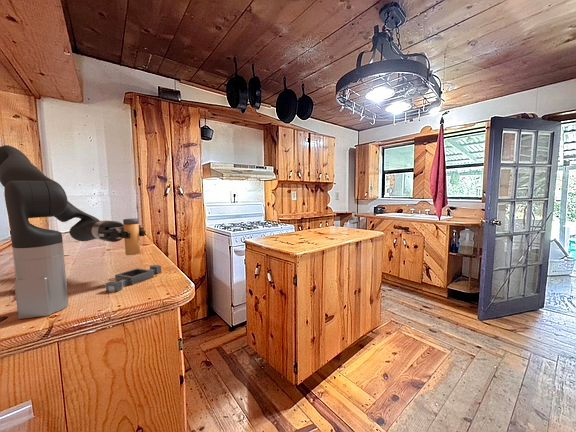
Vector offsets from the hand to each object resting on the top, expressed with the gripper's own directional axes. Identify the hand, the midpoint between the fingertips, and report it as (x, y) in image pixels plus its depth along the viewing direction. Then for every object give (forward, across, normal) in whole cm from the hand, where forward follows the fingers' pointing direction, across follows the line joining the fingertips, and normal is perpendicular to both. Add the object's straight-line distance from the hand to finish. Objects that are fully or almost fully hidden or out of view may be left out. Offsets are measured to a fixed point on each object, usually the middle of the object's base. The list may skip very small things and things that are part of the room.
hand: (136, 234), depth 87 cm
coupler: (-3, 0, +7) cm, 8 cm away
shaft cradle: (-2, -1, +16) cm, 16 cm away
